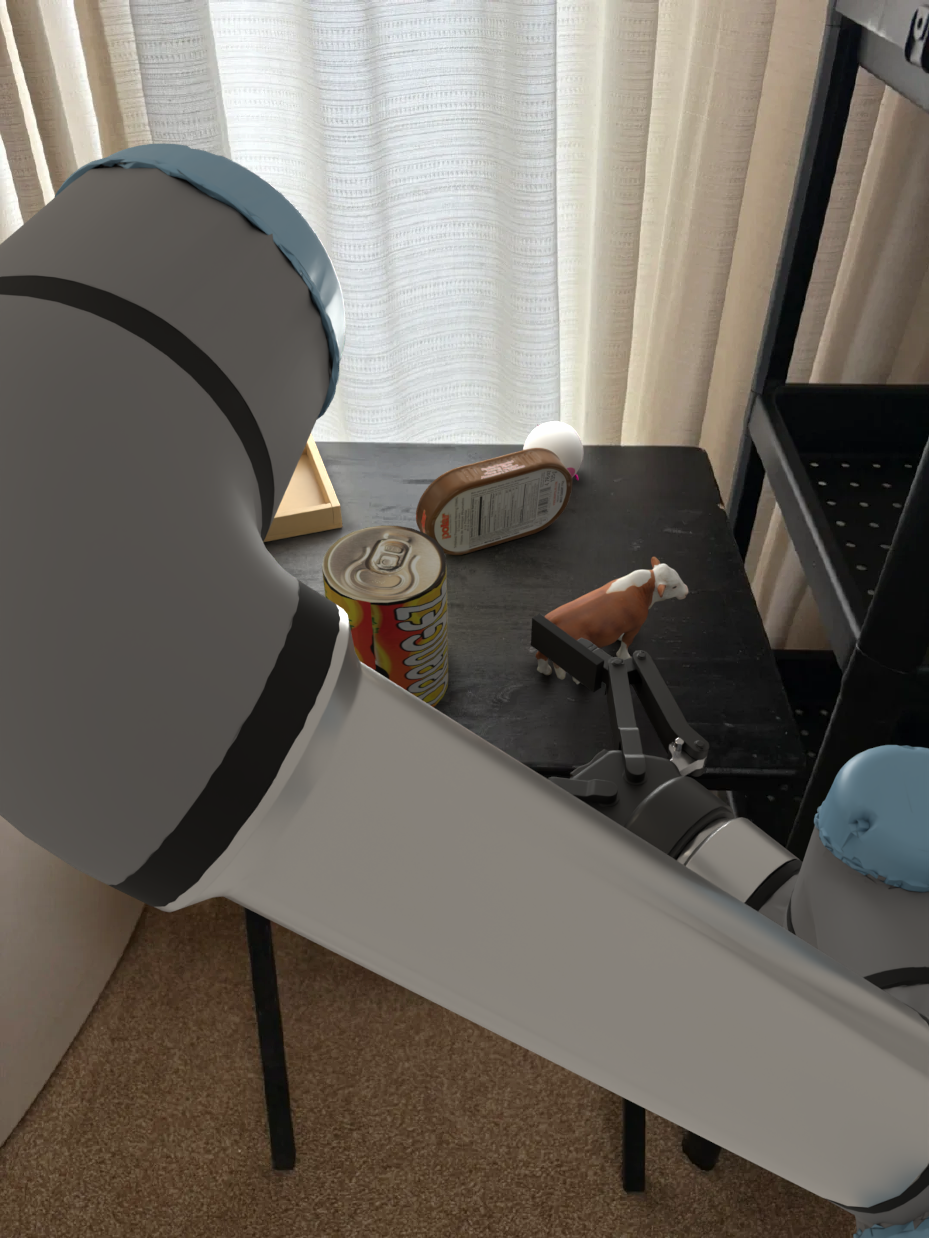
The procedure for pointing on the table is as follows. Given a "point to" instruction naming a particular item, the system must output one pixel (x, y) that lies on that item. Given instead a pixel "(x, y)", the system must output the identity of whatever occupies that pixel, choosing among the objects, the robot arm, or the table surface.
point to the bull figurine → (615, 610)
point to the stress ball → (558, 443)
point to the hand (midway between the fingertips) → (464, 671)
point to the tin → (494, 500)
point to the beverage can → (394, 604)
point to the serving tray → (307, 500)
